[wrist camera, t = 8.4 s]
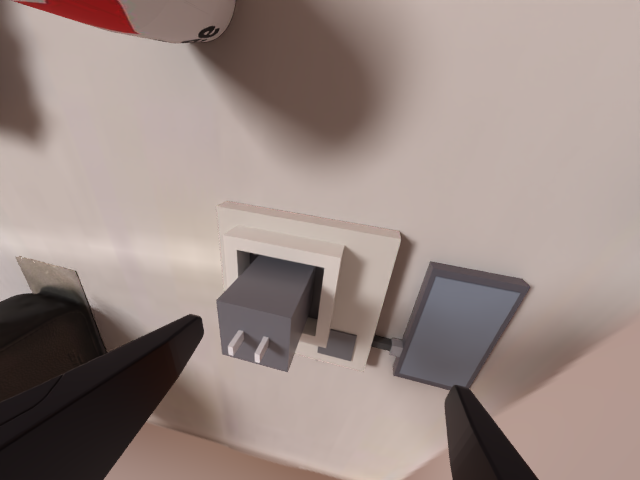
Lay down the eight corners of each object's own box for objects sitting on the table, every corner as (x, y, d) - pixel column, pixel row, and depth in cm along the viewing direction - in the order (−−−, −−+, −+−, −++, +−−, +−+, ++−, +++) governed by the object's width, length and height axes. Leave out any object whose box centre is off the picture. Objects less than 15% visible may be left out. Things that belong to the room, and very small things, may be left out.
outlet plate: (399, 231, 18) (404, 252, 14) (364, 358, 24) (362, 393, 20) (226, 200, 20) (198, 214, 16) (235, 325, 26) (215, 352, 23)
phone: (522, 278, 17) (531, 287, 16) (461, 383, 22) (465, 395, 21) (430, 261, 18) (433, 268, 17) (392, 366, 23) (393, 376, 22)
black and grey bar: (403, 340, 22) (404, 348, 21) (400, 349, 22) (400, 357, 21) (372, 332, 22) (372, 340, 21) (370, 342, 23) (369, 349, 22)
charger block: (315, 263, 18) (283, 335, 12) (310, 308, 20) (280, 390, 14) (261, 252, 19) (202, 314, 12) (261, 297, 21) (211, 370, 14)
